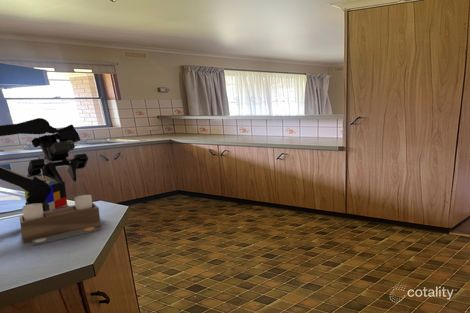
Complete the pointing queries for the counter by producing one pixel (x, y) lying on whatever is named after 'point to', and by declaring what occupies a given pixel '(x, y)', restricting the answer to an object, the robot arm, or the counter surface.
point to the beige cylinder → (83, 202)
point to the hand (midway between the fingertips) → (69, 182)
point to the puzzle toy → (55, 195)
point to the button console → (59, 222)
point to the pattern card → (63, 235)
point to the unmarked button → (33, 211)
